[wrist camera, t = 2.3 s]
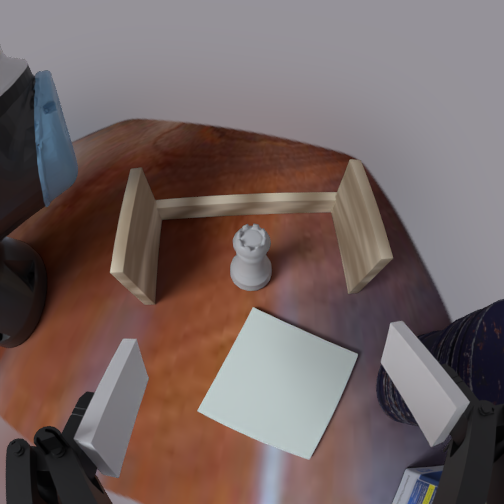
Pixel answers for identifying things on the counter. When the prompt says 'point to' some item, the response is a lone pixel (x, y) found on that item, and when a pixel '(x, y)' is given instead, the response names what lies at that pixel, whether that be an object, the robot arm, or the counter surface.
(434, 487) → the string lights box
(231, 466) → the counter surface
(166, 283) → the counter surface
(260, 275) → the rook chess piece
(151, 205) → the stall
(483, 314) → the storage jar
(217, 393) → the tile
